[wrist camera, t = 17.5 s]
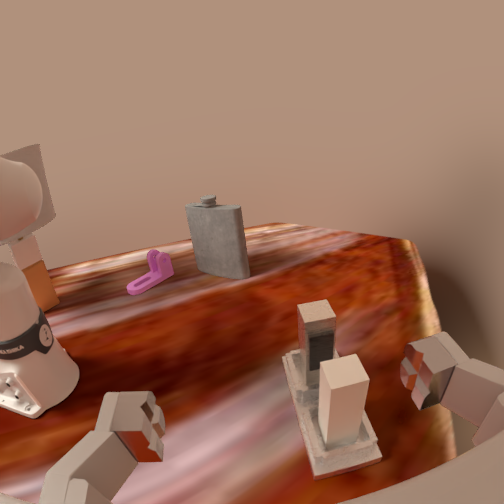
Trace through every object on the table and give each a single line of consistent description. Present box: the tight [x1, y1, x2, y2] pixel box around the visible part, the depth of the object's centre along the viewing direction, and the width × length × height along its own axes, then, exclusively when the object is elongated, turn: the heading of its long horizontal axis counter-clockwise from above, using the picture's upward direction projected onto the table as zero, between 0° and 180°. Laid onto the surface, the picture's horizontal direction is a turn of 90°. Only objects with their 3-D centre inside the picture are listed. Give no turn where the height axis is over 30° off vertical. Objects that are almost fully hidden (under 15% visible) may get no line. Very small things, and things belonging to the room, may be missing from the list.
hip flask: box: [185, 195, 250, 279], centre depth 77 cm, size 16×4×20 cm, turn 58°
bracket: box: [127, 249, 174, 295], centre depth 80 cm, size 13×6×7 cm, turn 142°
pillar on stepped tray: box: [282, 299, 382, 481], centre depth 38 cm, size 8×22×14 cm, turn 6°
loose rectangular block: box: [318, 354, 370, 449], centre depth 32 cm, size 4×5×12 cm
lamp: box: [0, 144, 60, 313], centre depth 66 cm, size 23×23×42 cm
